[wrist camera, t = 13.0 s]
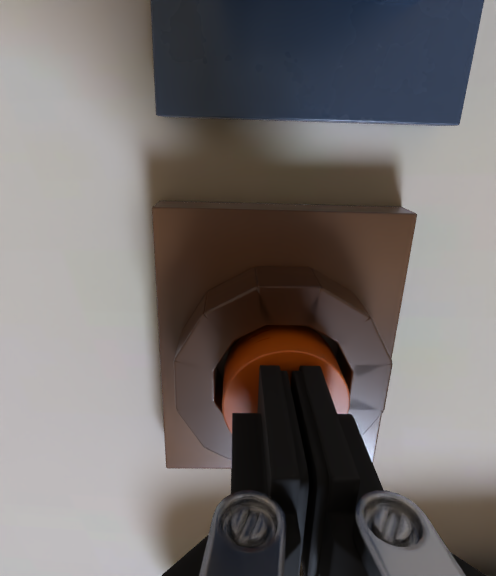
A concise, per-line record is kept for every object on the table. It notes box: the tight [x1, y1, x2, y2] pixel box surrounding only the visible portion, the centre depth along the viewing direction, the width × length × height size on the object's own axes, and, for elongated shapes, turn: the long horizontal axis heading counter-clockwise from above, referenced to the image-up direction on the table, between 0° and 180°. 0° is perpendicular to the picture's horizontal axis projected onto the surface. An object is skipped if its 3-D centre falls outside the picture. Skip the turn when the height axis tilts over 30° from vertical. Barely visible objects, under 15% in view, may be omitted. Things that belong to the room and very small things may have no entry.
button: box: [222, 325, 350, 433], centre depth 12 cm, size 4×4×2 cm
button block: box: [152, 201, 417, 469], centre depth 14 cm, size 10×8×3 cm
